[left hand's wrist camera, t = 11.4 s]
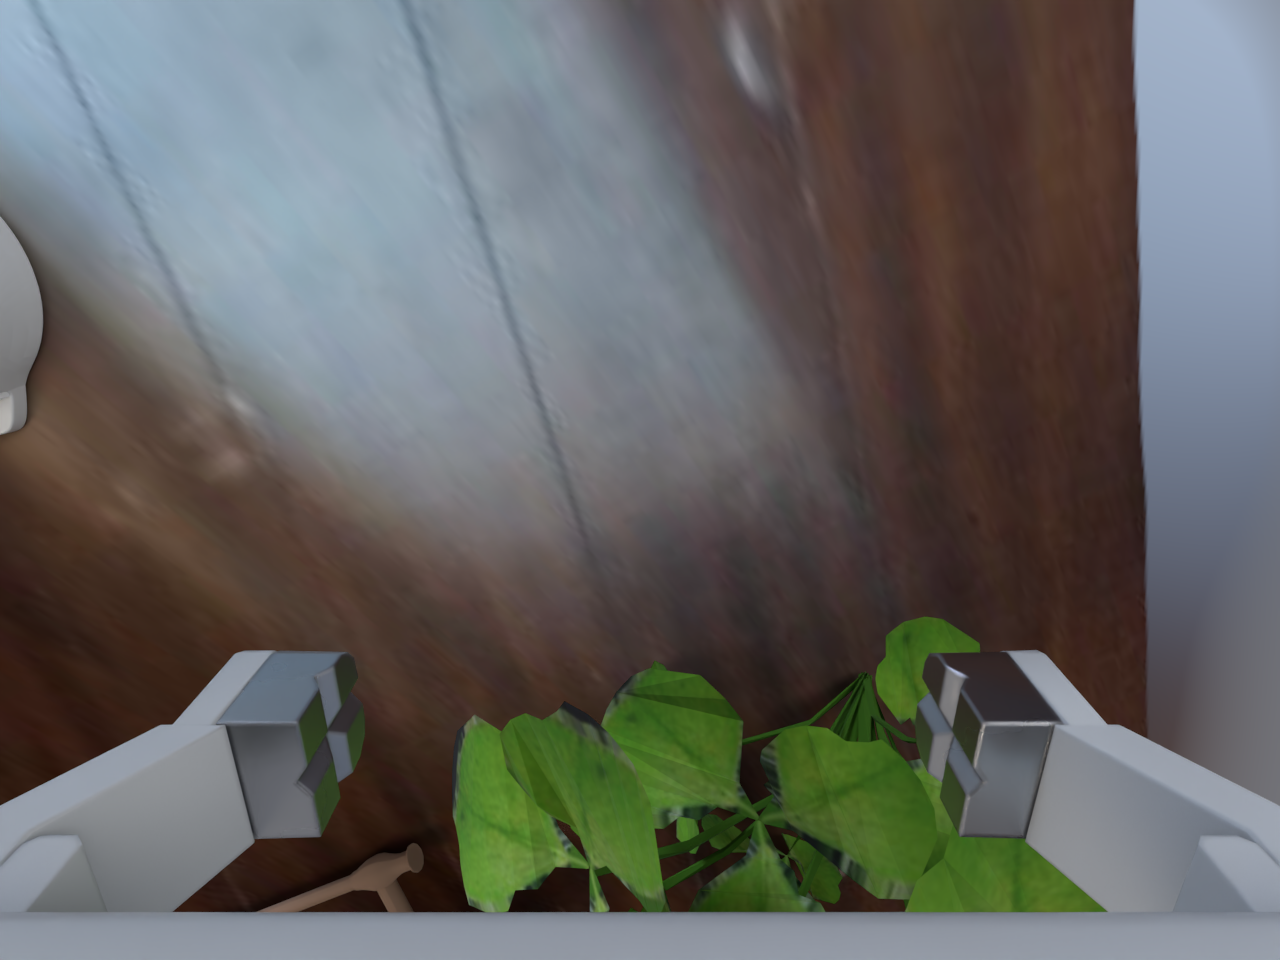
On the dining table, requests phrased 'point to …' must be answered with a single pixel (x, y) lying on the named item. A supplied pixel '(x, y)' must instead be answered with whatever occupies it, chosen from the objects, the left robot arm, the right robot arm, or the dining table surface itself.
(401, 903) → the toilet paper hanger
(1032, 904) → the indoor plant
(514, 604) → the dining table surface
